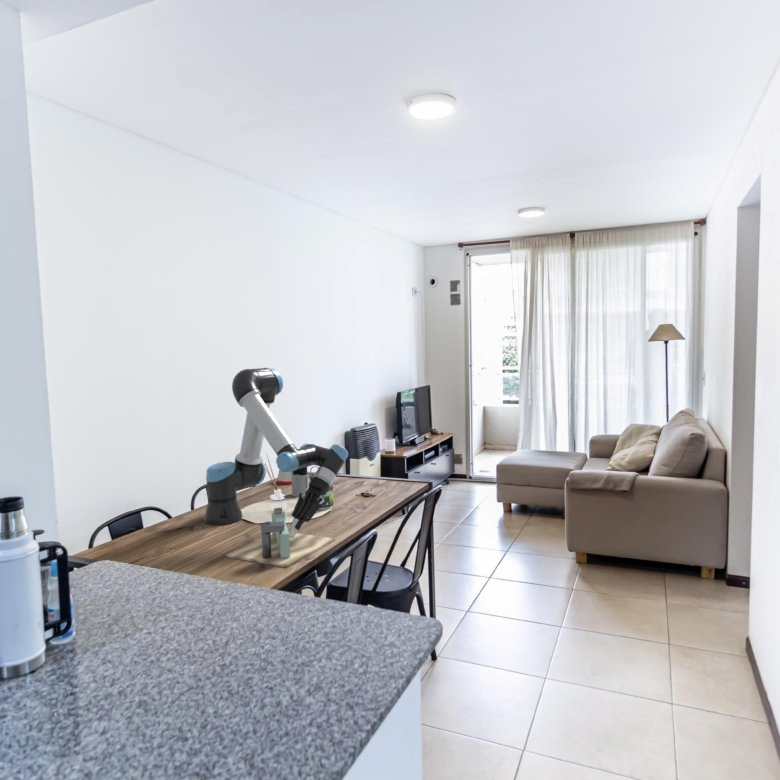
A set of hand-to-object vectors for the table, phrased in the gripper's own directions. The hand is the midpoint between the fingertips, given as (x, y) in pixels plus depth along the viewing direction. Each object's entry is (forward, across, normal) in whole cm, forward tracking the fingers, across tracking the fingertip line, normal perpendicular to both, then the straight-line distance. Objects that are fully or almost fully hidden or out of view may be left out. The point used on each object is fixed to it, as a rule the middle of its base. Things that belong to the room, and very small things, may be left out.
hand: (289, 536), depth 208 cm
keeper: (+11, -8, +7) cm, 15 cm away
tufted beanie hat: (-43, +80, -48) cm, 102 cm away
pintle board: (+5, -2, +1) cm, 6 cm away
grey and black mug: (-33, +51, -38) cm, 72 cm away
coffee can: (-26, +28, -31) cm, 49 cm away
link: (+4, 0, +1) cm, 4 cm away
